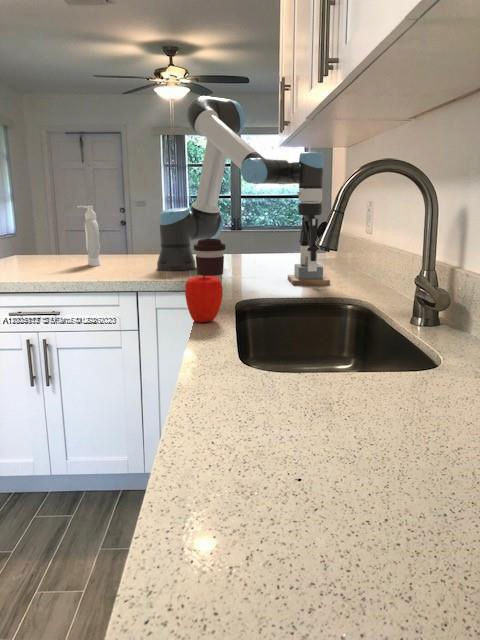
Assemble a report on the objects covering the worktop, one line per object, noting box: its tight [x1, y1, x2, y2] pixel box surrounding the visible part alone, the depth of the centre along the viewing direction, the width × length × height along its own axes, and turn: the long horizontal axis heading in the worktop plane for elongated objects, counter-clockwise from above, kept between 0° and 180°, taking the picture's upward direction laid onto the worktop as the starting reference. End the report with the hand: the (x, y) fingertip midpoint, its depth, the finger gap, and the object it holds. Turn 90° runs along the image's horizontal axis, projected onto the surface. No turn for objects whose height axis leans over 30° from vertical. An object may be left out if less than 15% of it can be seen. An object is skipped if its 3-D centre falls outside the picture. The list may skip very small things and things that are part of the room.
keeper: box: [287, 256, 331, 286], centre depth 168 cm, size 12×12×8 cm
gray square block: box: [293, 263, 324, 280], centre depth 168 cm, size 8×8×4 cm
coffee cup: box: [193, 238, 226, 285], centre depth 159 cm, size 10×10×15 cm
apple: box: [184, 276, 224, 324], centre depth 117 cm, size 9×9×11 cm
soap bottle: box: [76, 205, 102, 267], centre depth 210 cm, size 13×8×24 cm, turn 22°
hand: (308, 268), depth 168 cm, fingers open, 13 cm apart
